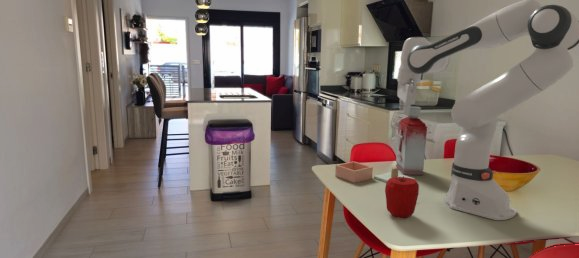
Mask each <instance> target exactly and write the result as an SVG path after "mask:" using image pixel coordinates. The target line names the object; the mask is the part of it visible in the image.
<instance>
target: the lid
mask: <svg viewBox="0 0 579 258" xmlns="http://www.w3.org/2000/svg"><path fill="white" fill-rule="evenodd" d="M399 171H400V170H399V168H397V166H395V167H394V166H393V167H391V171H388V172H385V173H381V174H377V175H373V178H374V179H373V180H375V179H377V180H376V181H378V180H380V181H379V182H381V181H383V182H382V183H384V182H387V181H388V180H389V179H390V178H393V177H403V176H404V177H406V178H412V179H415V180H416V178H414V177H412V176H409V175H404V174H403V173H402V174H401V173H399Z"/></svg>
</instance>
